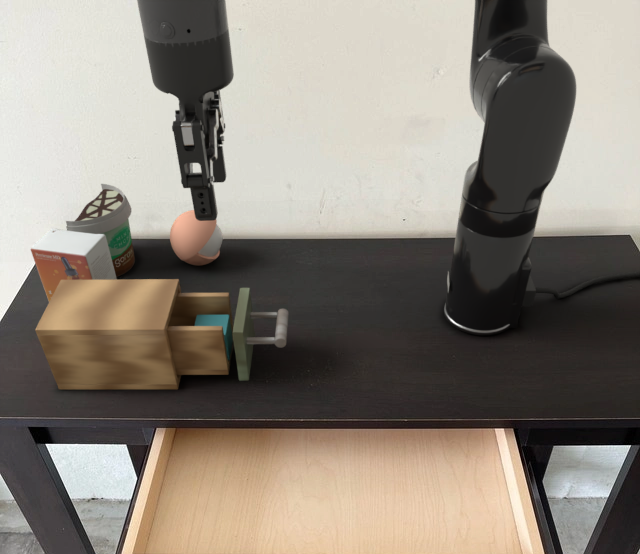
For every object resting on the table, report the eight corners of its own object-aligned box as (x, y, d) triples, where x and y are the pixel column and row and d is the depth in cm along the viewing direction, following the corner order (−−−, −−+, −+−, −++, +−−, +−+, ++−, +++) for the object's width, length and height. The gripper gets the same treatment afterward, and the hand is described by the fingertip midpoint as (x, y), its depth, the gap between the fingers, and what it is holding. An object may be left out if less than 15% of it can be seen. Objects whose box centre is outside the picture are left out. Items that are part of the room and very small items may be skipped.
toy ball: (226, 274, 98) (219, 225, 92) (173, 277, 97) (163, 228, 91) (226, 246, 103) (219, 198, 98) (176, 249, 103) (167, 201, 97)
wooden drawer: (290, 335, 86) (288, 287, 80) (287, 380, 80) (284, 332, 74) (152, 335, 86) (140, 288, 81) (138, 380, 80) (124, 332, 75)
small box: (52, 316, 91) (27, 248, 83) (72, 293, 95) (50, 226, 87) (105, 323, 89) (85, 255, 82) (124, 300, 93) (105, 233, 86)
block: (232, 340, 83) (229, 314, 80) (229, 360, 81) (225, 334, 78) (201, 340, 83) (196, 314, 81) (197, 360, 81) (192, 334, 78)
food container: (123, 290, 95) (106, 227, 88) (83, 286, 96) (63, 222, 89) (155, 246, 103) (141, 185, 96) (118, 242, 104) (102, 181, 97)
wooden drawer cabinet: (190, 337, 87) (178, 278, 81) (178, 389, 80) (164, 329, 73) (81, 338, 87) (60, 279, 81) (58, 389, 80) (34, 329, 74)
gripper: (218, 50, 53) (241, 232, 65) (235, 3, 63) (252, 168, 75) (126, 53, 53) (165, 234, 65) (157, 5, 63) (186, 170, 75)
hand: (212, 199), depth 70 cm, fingers open, 8 cm apart
